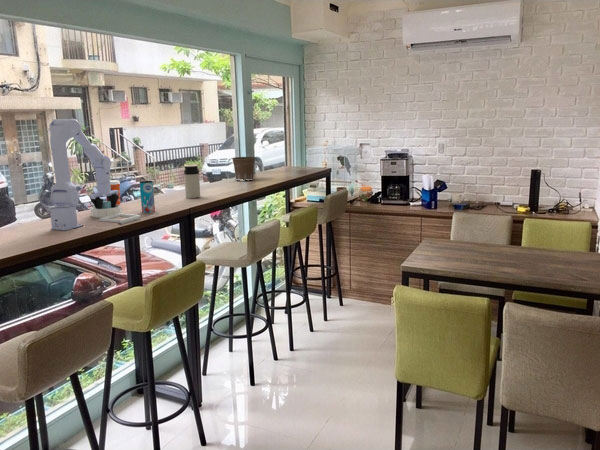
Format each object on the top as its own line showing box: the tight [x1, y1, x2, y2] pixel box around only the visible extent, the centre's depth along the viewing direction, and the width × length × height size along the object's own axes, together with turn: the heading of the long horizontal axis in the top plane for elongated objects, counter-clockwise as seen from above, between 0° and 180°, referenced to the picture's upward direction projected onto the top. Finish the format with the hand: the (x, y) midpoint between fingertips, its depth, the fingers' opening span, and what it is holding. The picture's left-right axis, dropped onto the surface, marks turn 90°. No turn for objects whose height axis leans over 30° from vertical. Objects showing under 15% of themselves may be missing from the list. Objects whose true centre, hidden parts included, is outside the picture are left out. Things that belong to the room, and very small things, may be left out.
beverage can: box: [139, 180, 156, 214], centre depth 235 cm, size 6×6×15 cm
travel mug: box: [183, 164, 201, 199], centre depth 280 cm, size 8×8×18 cm
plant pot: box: [231, 156, 256, 180], centre depth 351 cm, size 16×16×16 cm
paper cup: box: [106, 179, 121, 205], centre depth 247 cm, size 8×8×14 cm
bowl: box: [90, 204, 123, 219], centre depth 230 cm, size 13×13×4 cm
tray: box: [99, 213, 142, 225], centre depth 219 cm, size 12×12×2 cm
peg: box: [102, 200, 111, 209], centre depth 229 cm, size 4×4×6 cm
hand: (106, 212), depth 230 cm, fingers open, 7 cm apart
